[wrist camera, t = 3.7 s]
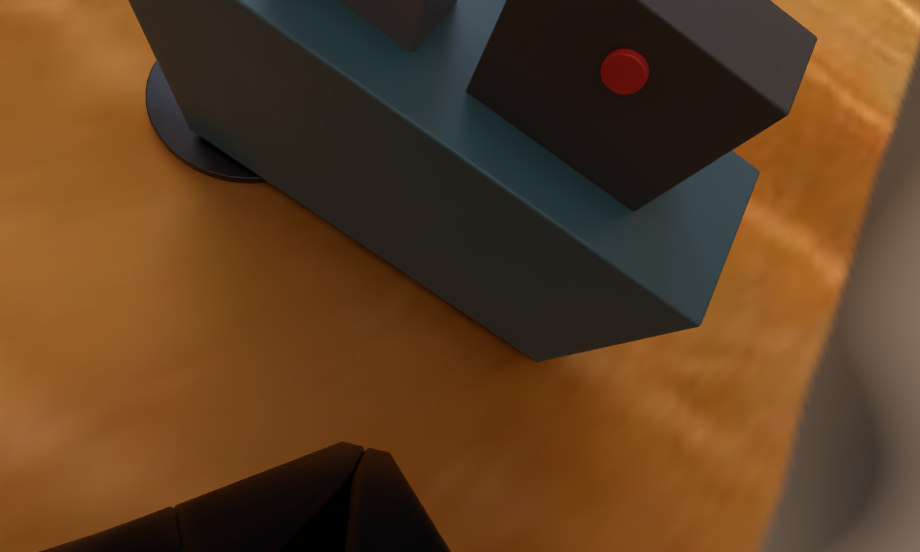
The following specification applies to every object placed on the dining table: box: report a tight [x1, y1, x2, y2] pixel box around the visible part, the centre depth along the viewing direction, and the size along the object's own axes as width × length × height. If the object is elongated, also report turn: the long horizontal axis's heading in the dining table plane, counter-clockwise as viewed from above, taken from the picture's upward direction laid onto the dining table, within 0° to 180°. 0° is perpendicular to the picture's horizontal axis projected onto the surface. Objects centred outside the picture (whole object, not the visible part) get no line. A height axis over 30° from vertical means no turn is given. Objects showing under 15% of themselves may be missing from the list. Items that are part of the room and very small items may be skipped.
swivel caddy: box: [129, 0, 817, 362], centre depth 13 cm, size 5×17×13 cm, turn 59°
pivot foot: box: [146, 61, 266, 183], centre depth 19 cm, size 7×7×1 cm
